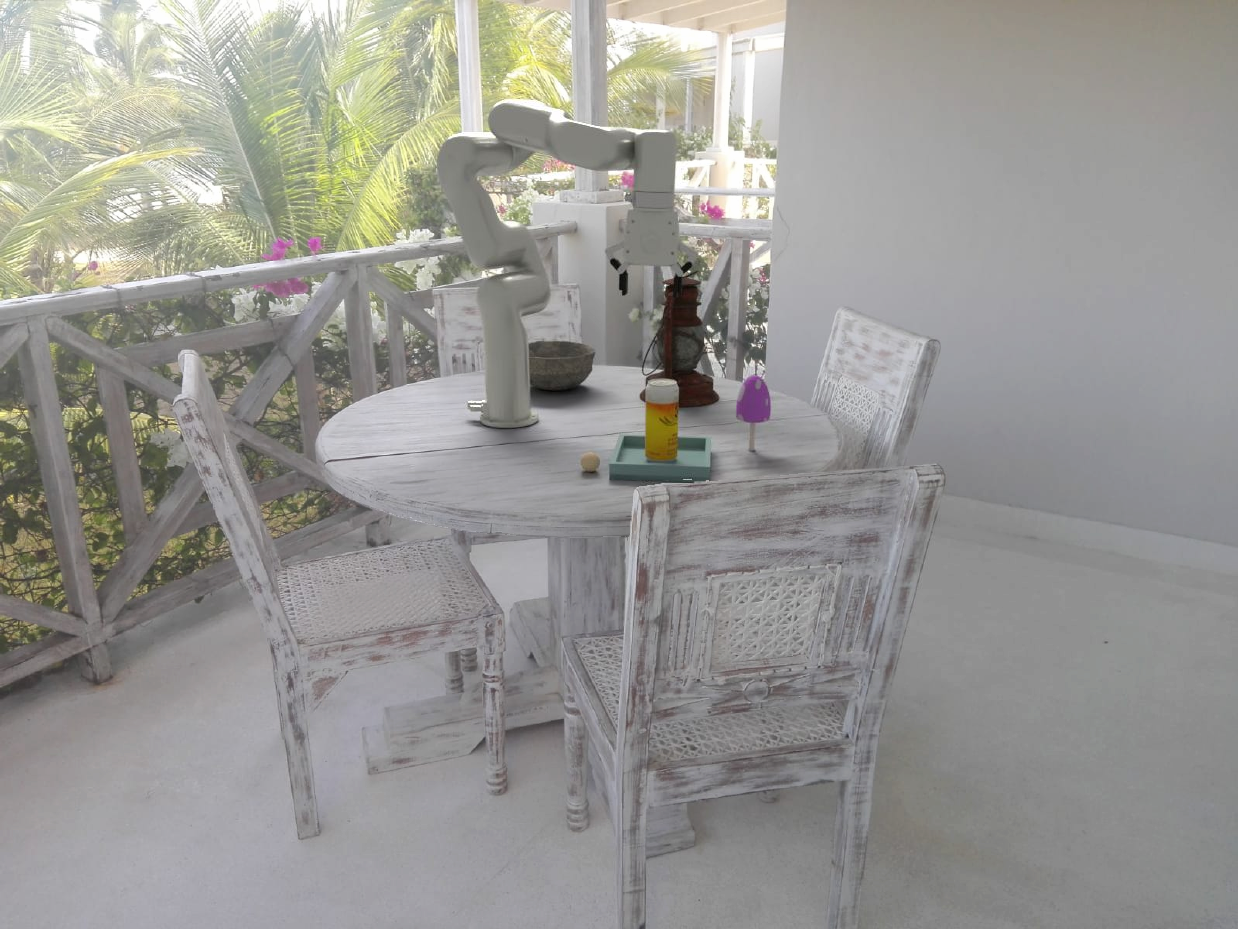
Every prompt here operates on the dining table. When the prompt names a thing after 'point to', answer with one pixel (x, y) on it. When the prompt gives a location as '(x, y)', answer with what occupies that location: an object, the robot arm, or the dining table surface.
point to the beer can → (661, 420)
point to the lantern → (682, 346)
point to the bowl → (559, 364)
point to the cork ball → (590, 461)
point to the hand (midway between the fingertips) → (650, 295)
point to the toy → (753, 404)
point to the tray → (686, 465)
